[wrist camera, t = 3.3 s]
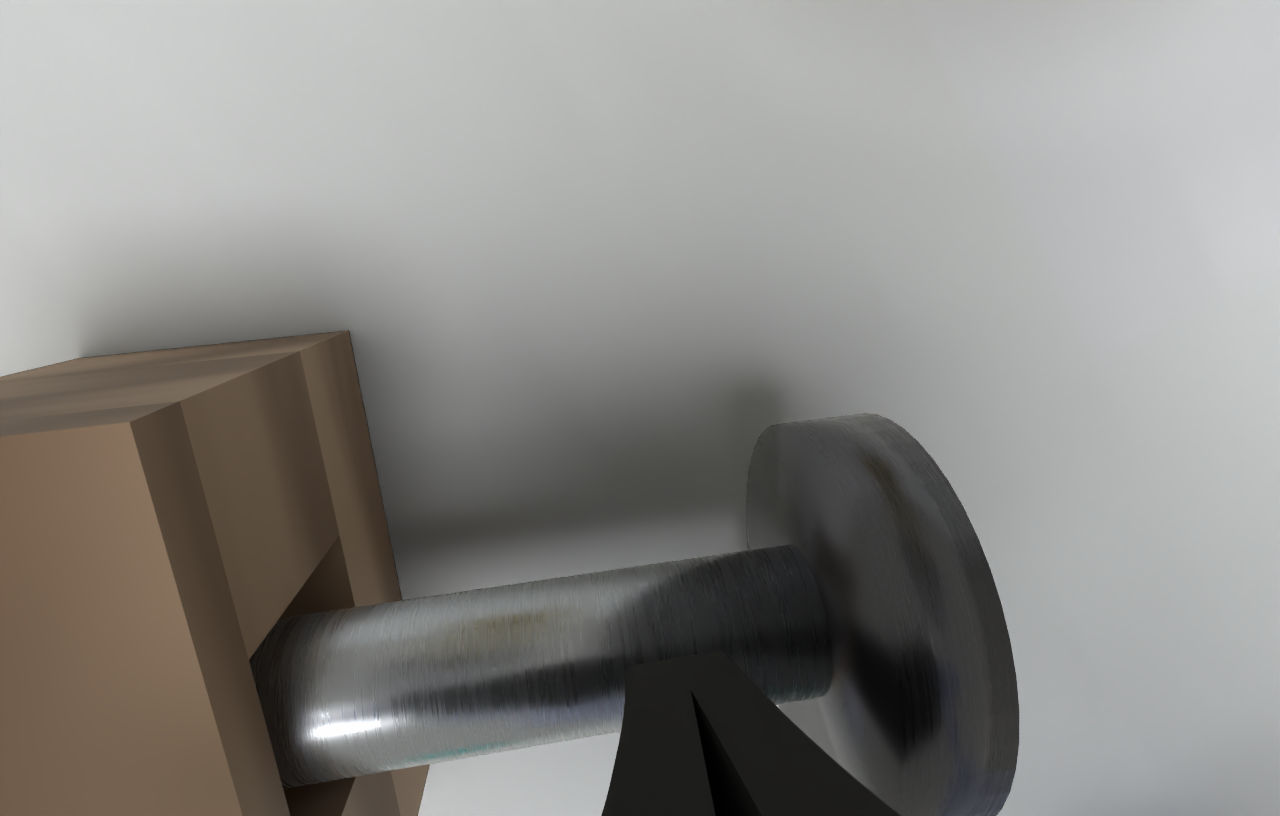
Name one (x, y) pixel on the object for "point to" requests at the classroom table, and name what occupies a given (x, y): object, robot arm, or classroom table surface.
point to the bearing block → (178, 573)
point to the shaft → (697, 638)
